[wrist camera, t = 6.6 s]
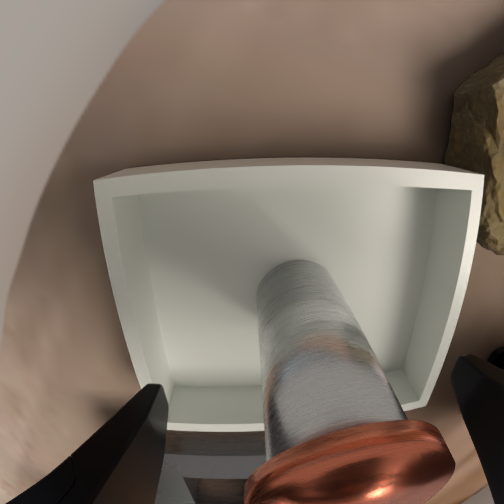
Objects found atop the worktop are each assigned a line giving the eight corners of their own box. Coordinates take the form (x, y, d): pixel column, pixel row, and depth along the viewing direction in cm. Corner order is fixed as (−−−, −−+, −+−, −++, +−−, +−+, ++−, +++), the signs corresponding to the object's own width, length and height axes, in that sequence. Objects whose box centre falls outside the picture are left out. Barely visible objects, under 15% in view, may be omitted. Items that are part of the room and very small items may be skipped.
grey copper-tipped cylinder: (352, 245, 12) (489, 424, 4) (342, 336, 14) (413, 518, 5) (241, 249, 12) (236, 477, 4) (246, 342, 14) (249, 546, 5)
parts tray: (440, 163, 12) (484, 175, 9) (404, 368, 16) (426, 405, 13) (126, 168, 12) (93, 180, 9) (167, 385, 16) (155, 429, 13)
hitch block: (323, 408, 17) (333, 448, 14) (308, 483, 20) (313, 513, 17) (122, 409, 17) (109, 446, 14) (160, 483, 20) (155, 512, 17)
